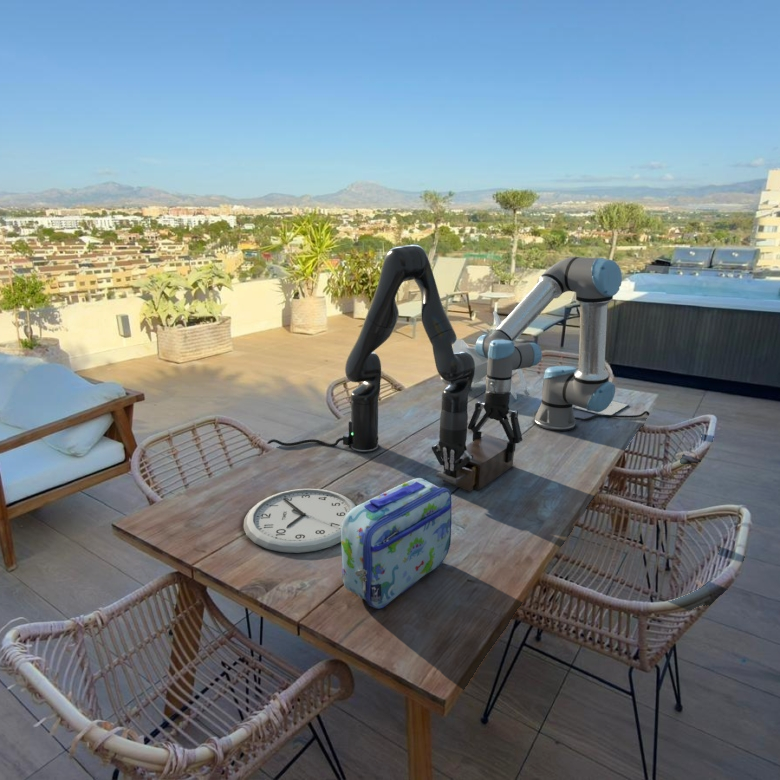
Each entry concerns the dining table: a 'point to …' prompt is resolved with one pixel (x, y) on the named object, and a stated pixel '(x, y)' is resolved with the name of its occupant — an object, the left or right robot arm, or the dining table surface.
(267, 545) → the wall clock
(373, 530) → the lunch box
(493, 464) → the cabinet
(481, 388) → the dining table surface
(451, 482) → the drawer
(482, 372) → the white plastic object
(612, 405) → the invitation card
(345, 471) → the dining table surface
